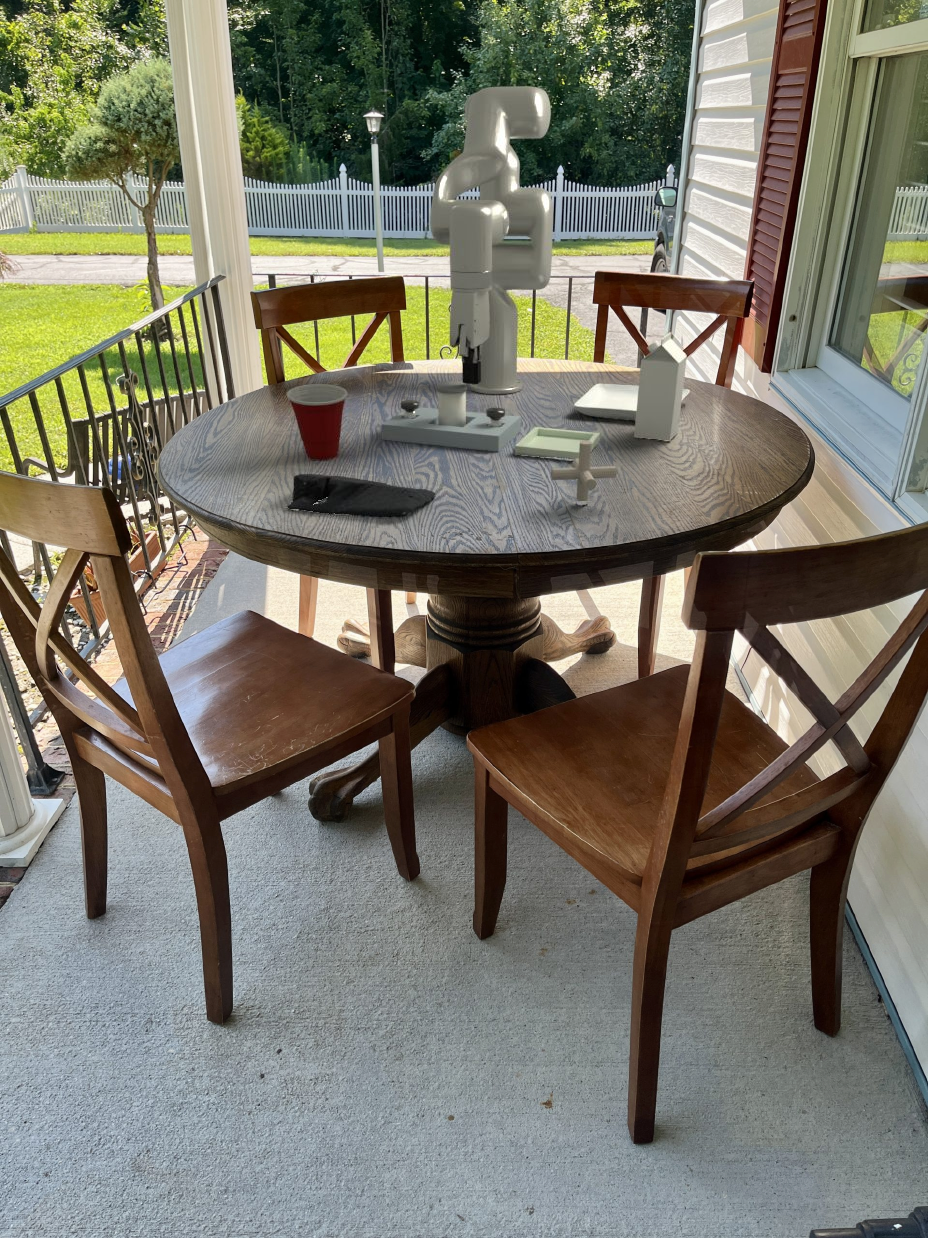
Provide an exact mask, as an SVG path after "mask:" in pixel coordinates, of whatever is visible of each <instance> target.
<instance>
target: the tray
mask: <svg viewBox="0 0 928 1238" xmlns="http://www.w3.org/2000/svg"><path fill="white" fill-rule="evenodd" d="M600 440H601V433H600V432H591V431H582V430H581V431H580V430H571V429H560V428H551V427H550V428H549V427H542V426H541V427H540V426H539V427H538V426H534V427H533V428H532V429H531V430H530V431H529V432H528V433H527V434H526V435H525V436H524V437H522V438H521V440H520V441H519V442H517V444H515V445H514V456H516V454H517V455H528V456H539V457H557V458H566V459H567V458H568V459H577V458H579V447H580V442H581V441H590V442H592V446H591V451H592V449H593V448H594V447H595V446H596V444H597V443H598V442H599V441H600ZM596 447H597V446H596Z"/></svg>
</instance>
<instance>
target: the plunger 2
mask: <svg viewBox="0 0 928 1238" xmlns="http://www.w3.org/2000/svg"><path fill="white" fill-rule="evenodd" d="M485 411H486V412H485V413H486V416H487V417H490V426H491V427H501V417H504V416H505V415H506V409H505V408H502V407H490V408H487V409H486V410H485Z"/></svg>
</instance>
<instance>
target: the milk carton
mask: <svg viewBox="0 0 928 1238" xmlns="http://www.w3.org/2000/svg"><path fill="white" fill-rule="evenodd" d="M647 350H648V351H649V353H648V354H647V355H646V356H644V357H643V358H642V359H641V361H640V369H639V377H638V378H639V380H638V381H639V382H638V386H639V389H638V400H637V411H636V421H634V422H635V423H634V435H633V437H643V438H651V439H661V440H671V439H672V438H673V436H674V435H675V434H676V433H677V432H679V425H680V418H681V408H682V402H683V401H682V393H683V389H684V385H685V383H684V382H685V374H686V367H687V357H688V356H687V354H686V353H685V352H684V351H683V350H682V349H681V348H680V346H679V345H677V344H676V342H675V341H674V340H673V339H672V332H671V331H670V332H669V333H668V334H666V335H665V336H664V337H662V338H661V342H660V343H659V341H658V340H655V341H654V342H652V343H651V344H650V345H648V346H647ZM677 434H678V433H677ZM677 434H676V435H677ZM676 435H675V436H676ZM673 439H674V438H673ZM673 439H672V440H673ZM672 440H671V441H672Z"/></svg>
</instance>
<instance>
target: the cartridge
mask: <svg viewBox="0 0 928 1238" xmlns="http://www.w3.org/2000/svg"><path fill="white" fill-rule="evenodd" d="M467 387H468V384H466V383H463V381H457V380H456V381H455V380H448V381H446V380H445V381H441V382H438V383H436V391H437V409H438V424H439V425H446V426H456V427H464V426H465V425H466V412H467V410H466V409H467V406H466V405H467V402H466V400H467V399H466V398H467V395H466V394H467V393H466V392H467V390H468V389H467Z"/></svg>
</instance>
